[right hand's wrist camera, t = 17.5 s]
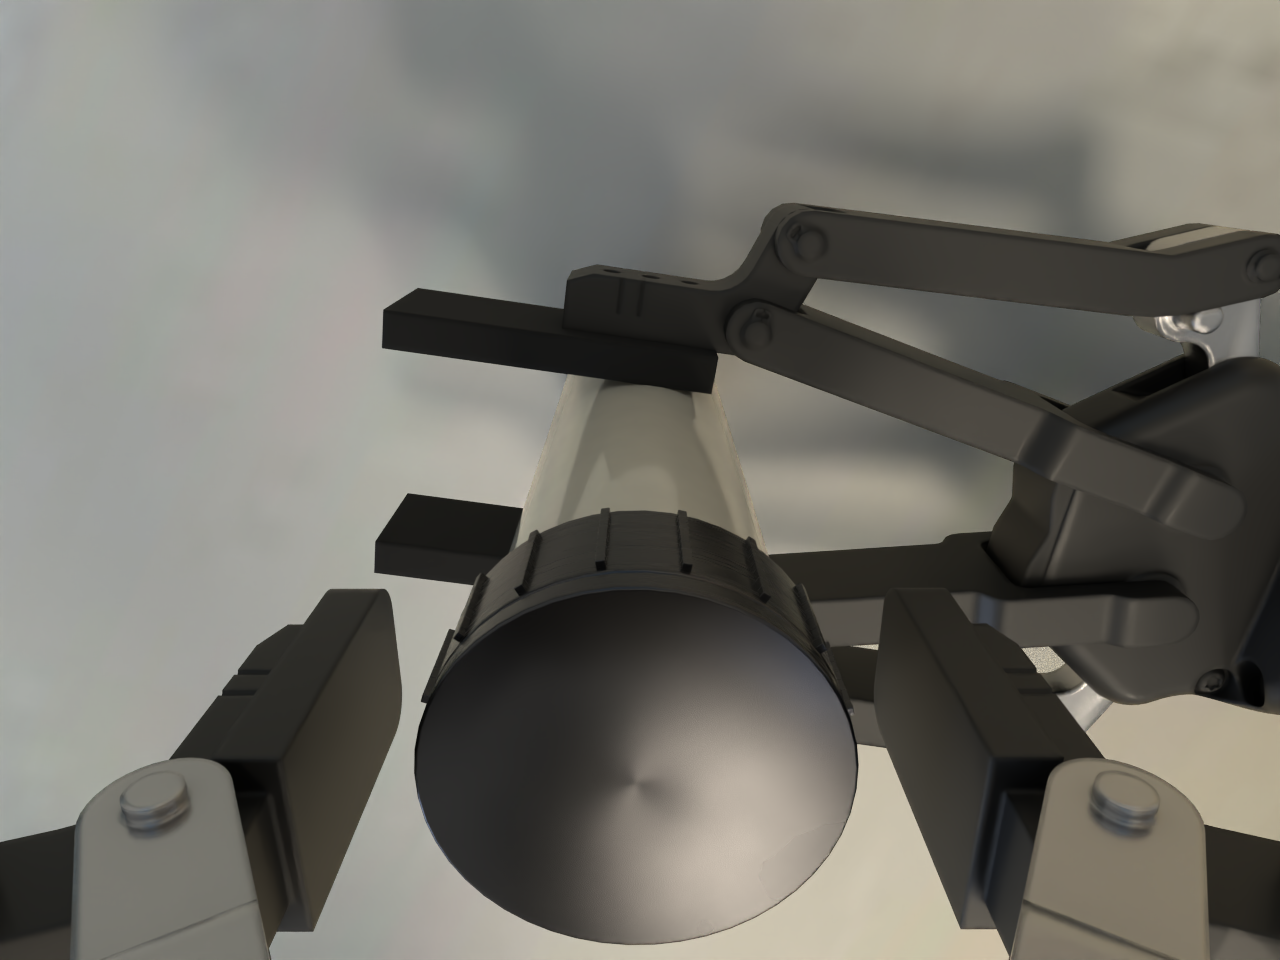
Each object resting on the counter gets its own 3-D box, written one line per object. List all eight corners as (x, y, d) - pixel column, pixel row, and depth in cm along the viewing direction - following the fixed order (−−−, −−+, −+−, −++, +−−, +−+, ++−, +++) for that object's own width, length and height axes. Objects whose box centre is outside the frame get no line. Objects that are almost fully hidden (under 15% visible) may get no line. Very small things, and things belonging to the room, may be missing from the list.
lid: (689, 423, 10) (700, 487, 8) (898, 717, 11) (948, 828, 10) (367, 636, 11) (311, 736, 9) (597, 880, 12) (589, 1008, 11)
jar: (728, 429, 25) (849, 826, 11) (595, 469, 26) (531, 902, 11) (689, 294, 24) (763, 532, 9) (548, 338, 24) (401, 634, 10)
